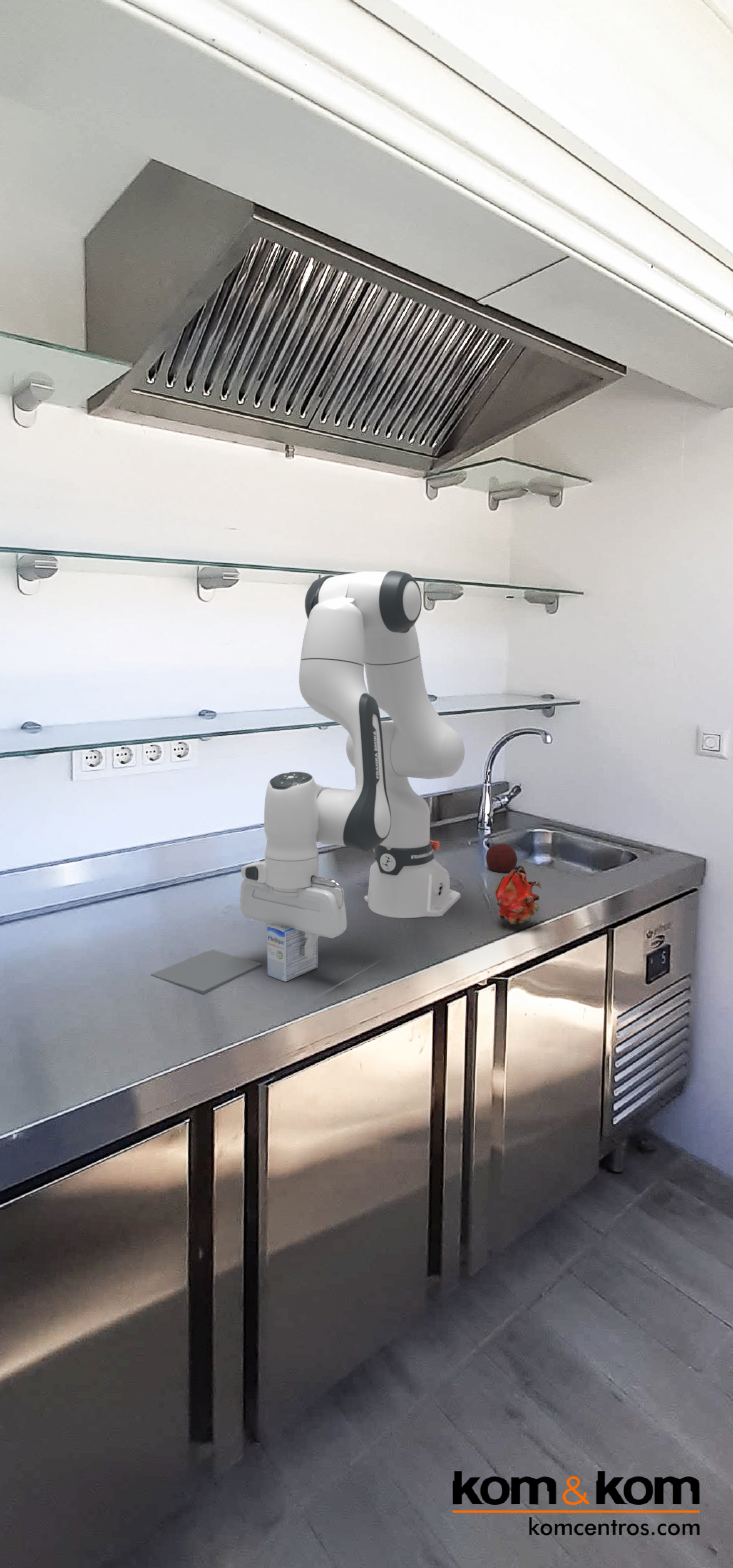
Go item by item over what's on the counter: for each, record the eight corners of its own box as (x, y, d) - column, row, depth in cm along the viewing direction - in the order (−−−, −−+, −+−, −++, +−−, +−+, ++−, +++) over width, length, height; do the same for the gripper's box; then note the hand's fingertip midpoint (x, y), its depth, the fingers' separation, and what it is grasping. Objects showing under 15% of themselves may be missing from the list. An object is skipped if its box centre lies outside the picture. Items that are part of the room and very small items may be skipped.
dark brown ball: (479, 870, 203) (480, 842, 202) (506, 867, 206) (506, 839, 205) (496, 878, 197) (497, 849, 195) (523, 874, 200) (524, 846, 199)
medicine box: (299, 962, 143) (299, 914, 142) (318, 968, 140) (318, 919, 139) (266, 976, 137) (266, 926, 136) (286, 983, 134) (285, 932, 133)
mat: (211, 952, 148) (211, 949, 148) (262, 966, 141) (261, 963, 141) (150, 977, 136) (150, 974, 136) (203, 994, 130) (203, 991, 130)
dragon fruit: (517, 935, 157) (519, 874, 155) (484, 924, 163) (486, 865, 161) (546, 926, 162) (548, 867, 160) (512, 915, 169) (514, 858, 167)
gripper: (354, 877, 133) (354, 959, 135) (258, 859, 144) (259, 934, 146) (331, 886, 128) (331, 971, 130) (233, 866, 139) (235, 945, 141)
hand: (292, 951), depth 138 cm, fingers closed on medicine box, 5 cm apart
